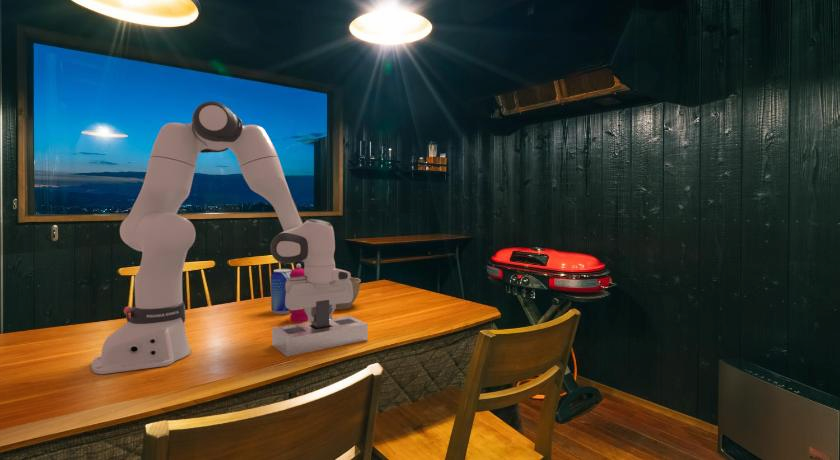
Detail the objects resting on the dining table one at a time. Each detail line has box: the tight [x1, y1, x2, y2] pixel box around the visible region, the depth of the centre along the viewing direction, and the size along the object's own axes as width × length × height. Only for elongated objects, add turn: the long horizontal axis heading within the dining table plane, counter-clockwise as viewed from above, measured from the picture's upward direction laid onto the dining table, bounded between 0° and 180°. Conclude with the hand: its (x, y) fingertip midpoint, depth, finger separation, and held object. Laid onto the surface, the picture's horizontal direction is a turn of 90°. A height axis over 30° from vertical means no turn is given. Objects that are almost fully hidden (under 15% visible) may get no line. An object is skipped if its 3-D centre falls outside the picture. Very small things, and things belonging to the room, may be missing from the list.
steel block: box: [310, 300, 330, 330], centre depth 134 cm, size 4×4×10 cm
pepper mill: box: [289, 263, 308, 323], centre depth 159 cm, size 7×7×20 cm
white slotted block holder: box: [271, 315, 369, 357], centre depth 135 cm, size 25×12×5 cm, turn 126°
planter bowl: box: [329, 276, 362, 310], centre depth 178 cm, size 16×16×11 cm
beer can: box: [270, 268, 293, 315], centre depth 170 cm, size 8×8×16 cm
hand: (320, 320), depth 134 cm, fingers closed on steel block, 4 cm apart
